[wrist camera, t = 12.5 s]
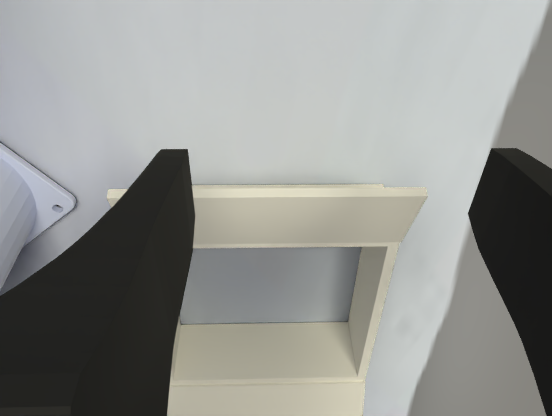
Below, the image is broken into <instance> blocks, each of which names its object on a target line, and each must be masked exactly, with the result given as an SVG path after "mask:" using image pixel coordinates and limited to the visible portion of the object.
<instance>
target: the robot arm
mask: <svg viewBox="0 0 552 416" xmlns="http://www.w3.org/2000/svg"><path fill="white" fill-rule="evenodd" d="M75 204H76V199H75V197H74V196H73V195H72V194H70V193H69V192H68V191H66V190H65V189H64V188H62V187H61V186H59V185H58V184H57V183H55V182H54V181H53V180H51V179H50V178H48V177H47V176H46V175H44V174H43V173H41V172H40V171H39V170H37V169H36V168H35V167H33V166H32V165H30V164H29V163H28V162H26V161H25V160H24V159H22V158H21V157H19V156H18V155H17V154H15V153H14V152H12V151H11V150H10V149H8V148H7V147H6V146H4V145H3V144H1V143H0V291H1V289H2V287H3V285H4V283H5V281H6V279H7V277H8V275H9V273H10V271H11V269H12V267H13V265H14V263H15V261H16V259H17V257H18V255H19V253H20V251H21V249H22V247H24V246H25V245H26V244H28V243H29V242H30V241H32V240H33V239H34V238H36V237H37V236H38V235H39V234H41V233H42V232H43V231H45V230H46V229H47V228H49V227H50V226H51V225H52V224H54V223H55V222H56V221H58V220H59V219H60V218H62V217H63V216H64V215H66V214H67V213H68V212H69V211H71V210H72V209H73V208H74V206H75ZM56 205H59V206H61V207H62V208H59V207H57V206H56ZM468 215H469V219H470V222H471V226H472V229H473V233H474V236H475V239H476V242H477V245H478V249H479V251H480V253H481V255H482V257H483V259H484V262H485V264H486V266H487V268H488V270H489V272H490V274H491V277H492V279H493V281H494V283H495V285H496V287H497V289H498V291H499V293H500V295H501V297H502V299H503V301H504V303H505V305H506V307H507V309H508V312H509V313H510V315H511V318H512V320H513V322H514V324H515V326H516V328H517V331H518V333H519V336H520V338H521V340H522V343H523V345H524V348H525V351H526V354H527V357H528V360H529V363H530V365H531V368H532V371H533V373H534V377H535V380H536V383H537V386H538V390H539V393H540V396H541V399H542V402H543V406H544V409H545V412H546V415H547V416H552V169H551V168H549V167H548V166H546V165H545V164H543V163H541V162H540V161H538V160H536V159H535V158H533V157H532V156H530V155H528V154H526V153H525V152H523V151H521V150H519V149H516V148H491V151H490V154H489V156H488V159H487V162H486V165H485V167H484V170H483V173H482V176H481V179H480V181H479V184H478V187H477V190H476V193H475V195H474V198H473V201H472V204H471V207H470V209H469V212H468ZM194 227H195V208H194V200H193V191H192V182H191V174H190V165H189V156H188V149H161V150H160V151H159V152H158V153H157V154H156V156H155V157H154V158H153V159H152V161H151V162H150V163H149V165H148V166H147V167H146V168H145V170H144V171H143V172H142V173H141V175H140V176H139V177H138V178H137V179H136V181H135V182H134V183H133V184H132V185H131V186H130V188H129V189H128V190H127V191H126V192H125V193H124V194H123V196H122V197H121V198H120V199H119V200H118V201H117V202H116V203H115V205H114V206H113V207H112V208H111V209H110V210H109V211H108V212H107V213H106V214H105V215H104V216H103V217H102V218H101V219H100V220H99V221H98V222H97V223H96V224H95V225H94V226H93V227H92V228H91V229H90V230H89V231H88V232H86V233H85V234H84V235H83V236H82V237H81V238H80V239H79V240H78V241H76V242H75V243H74V244H73V245H72V246H70V247H69V248H68V249H67V250H66V251H64V252H63V253H62V254H61V255H59V256H58V257H57V258H56V259H54V260H53V261H51V262H50V263H49V264H47V265H46V266H44V267H43V268H41V269H40V270H39V271H37V272H36V273H34V274H33V275H32V276H30V277H29V278H27V279H26V280H25V281H23V282H22V283H20V284H19V285H17V286H16V287H14V288H13V289H11V290H9V291H8V292H6V293H5V294H3V295H1V296H0V416H167V409H168V398H169V387H170V377H171V367H172V357H173V348H174V341H175V335H176V329H177V325H178V320H179V315H180V310H181V305H182V301H183V296H184V291H185V286H186V282H187V277H188V272H189V267H190V262H191V257H192V252H193V241H194Z"/></svg>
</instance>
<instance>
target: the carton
mask: <svg viewBox="0 0 552 416" xmlns="http://www.w3.org/2000/svg"><path fill="white" fill-rule="evenodd" d="M127 190H128V189H108V194H107V200H108V202H109V204H110V206H111V207H113V206H114V205H115V203H116V202H117V201H118V200H119V199H120V198H121V197H122V196H123V194H124V193H125V192H126V191H127ZM192 191H193V200H194V208H195V227H194V241H193V248H279V247H362V249H361V254H360V259H359V265H358V270H357V276H356V281H355V286H354V292H353V297H352V303H351V308H350V313H349V319H348V322H314V323H253V324H193V325H181V323H180V317H179V320H178V325H177V329H176V335H175V341H174V348H173V357H172V367H171V377H170V387H169V398H168V409H167V413H168V416H363V406H364V394H365V378H366V374H367V370H368V366H369V362H370V358H371V354H372V350H373V346H374V342H375V338H376V334H377V330H378V326H379V323H380V319H381V315H382V311H383V307H384V303H385V299H386V295H387V291H388V287H389V283H390V279H391V275H392V271H393V267H394V263H395V259H396V255H397V251H398V247H399V243H400V242H402V240H403V239H404V237H405V235H406V233H407V232H408V230H409V228H410V226H411V225H412V223H413V221H414V220H415V218H416V216H417V214H418V213H419V211H420V209H421V207H422V206H423V204H424V202H425V200H426V199H427V197H428V194H427V190H426V187H393V188H384V185H383V184H325V185H192Z"/></svg>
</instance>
